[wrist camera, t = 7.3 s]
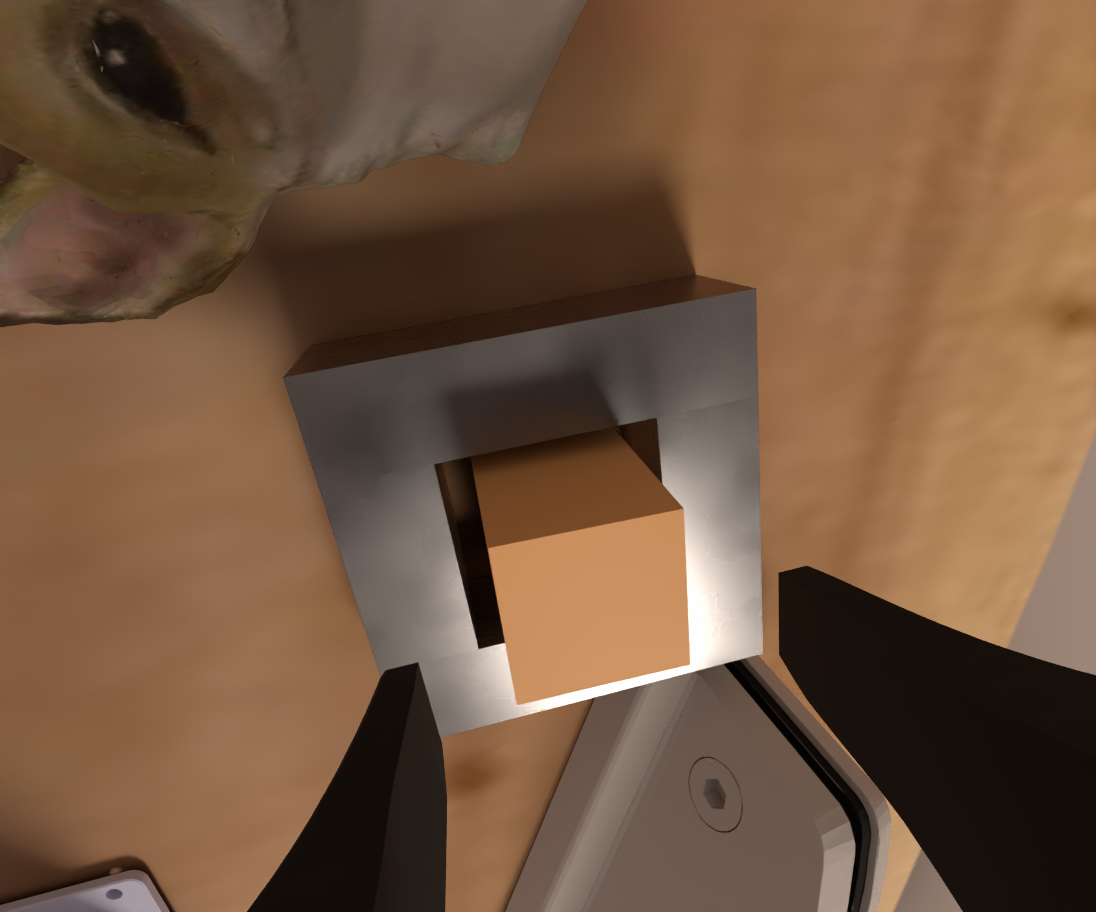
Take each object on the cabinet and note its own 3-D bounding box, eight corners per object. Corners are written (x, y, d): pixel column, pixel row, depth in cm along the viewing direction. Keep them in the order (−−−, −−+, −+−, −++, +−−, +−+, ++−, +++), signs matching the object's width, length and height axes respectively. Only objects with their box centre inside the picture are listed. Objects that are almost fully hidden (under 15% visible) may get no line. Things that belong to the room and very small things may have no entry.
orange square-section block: (486, 546, 20) (516, 705, 14) (465, 430, 18) (488, 548, 12) (606, 522, 20) (690, 664, 14) (596, 407, 19) (684, 508, 13)
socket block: (406, 665, 21) (403, 746, 18) (309, 345, 17) (282, 377, 14) (713, 589, 22) (762, 653, 19) (696, 274, 18) (755, 288, 15)
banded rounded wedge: (629, 615, 22) (885, 881, 14) (717, 609, 25) (973, 830, 17) (494, 937, 27) (631, 1264, 19) (580, 902, 30) (730, 1177, 22)
